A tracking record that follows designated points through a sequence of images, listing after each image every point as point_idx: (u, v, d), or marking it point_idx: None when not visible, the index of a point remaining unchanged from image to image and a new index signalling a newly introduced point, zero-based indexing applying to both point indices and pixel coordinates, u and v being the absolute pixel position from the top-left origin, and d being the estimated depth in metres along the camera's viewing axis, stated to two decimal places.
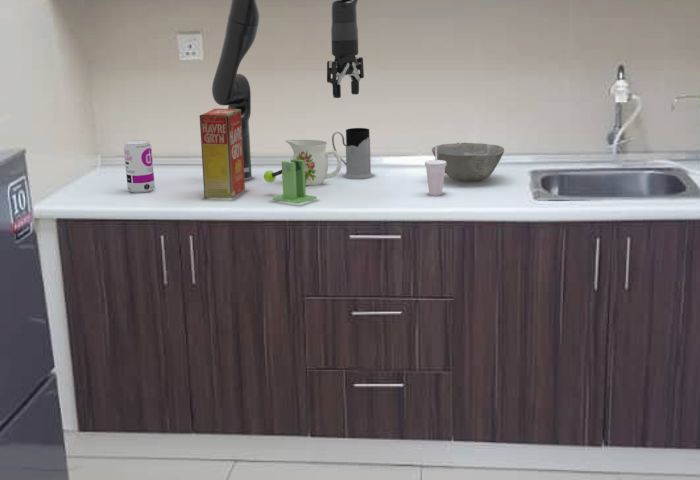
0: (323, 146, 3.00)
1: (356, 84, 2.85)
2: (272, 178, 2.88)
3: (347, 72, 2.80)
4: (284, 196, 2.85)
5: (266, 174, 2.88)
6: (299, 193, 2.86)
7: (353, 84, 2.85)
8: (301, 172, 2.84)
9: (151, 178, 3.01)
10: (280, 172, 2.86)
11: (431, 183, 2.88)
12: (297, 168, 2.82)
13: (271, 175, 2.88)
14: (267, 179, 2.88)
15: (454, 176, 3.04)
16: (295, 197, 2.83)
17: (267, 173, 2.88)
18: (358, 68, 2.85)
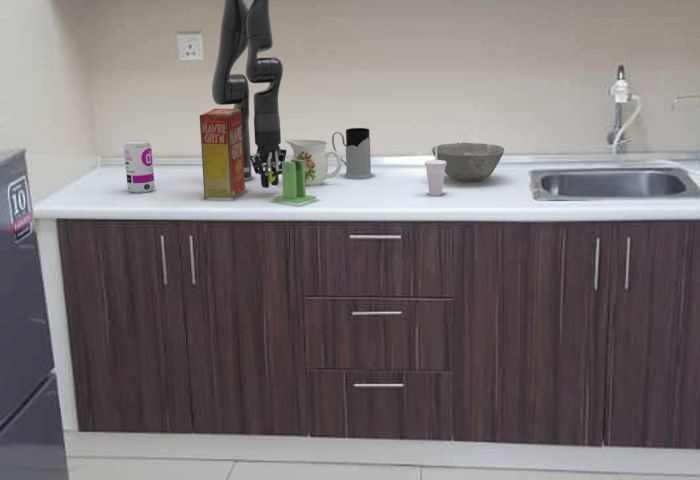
0: (323, 146, 3.00)
1: None
2: (272, 178, 2.88)
3: None
4: (284, 196, 2.85)
5: None
6: (299, 193, 2.86)
7: None
8: (301, 172, 2.84)
9: (151, 178, 3.01)
10: (280, 172, 2.86)
11: (431, 183, 2.88)
12: (297, 168, 2.82)
13: (271, 175, 2.88)
14: None
15: (454, 176, 3.04)
16: (295, 197, 2.83)
17: None
18: (279, 159, 2.91)
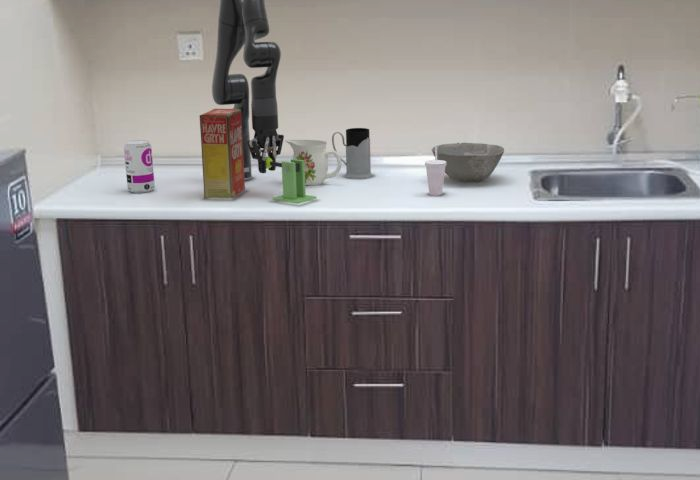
0: (323, 146, 3.00)
1: None
2: (269, 166, 2.88)
3: (267, 146, 2.86)
4: (284, 196, 2.85)
5: None
6: (299, 193, 2.86)
7: None
8: (301, 172, 2.84)
9: (151, 178, 3.01)
10: (279, 165, 2.85)
11: (431, 183, 2.88)
12: (296, 170, 2.82)
13: (269, 163, 2.87)
14: None
15: (454, 176, 3.04)
16: (295, 197, 2.83)
17: (266, 160, 2.87)
18: (277, 144, 2.90)
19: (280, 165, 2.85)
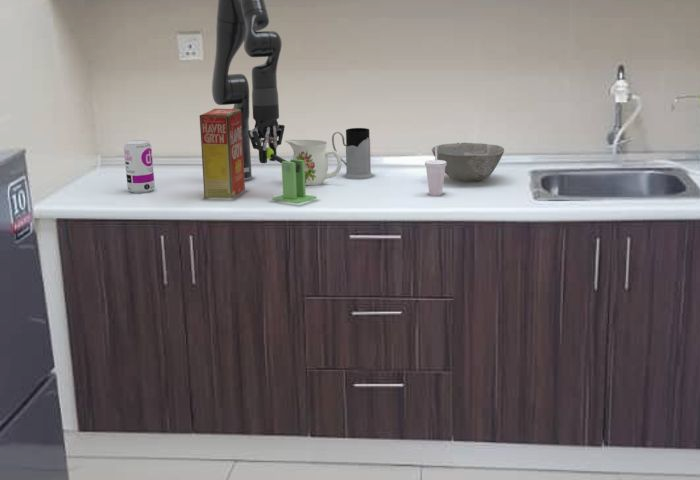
0: (323, 146, 3.00)
1: None
2: (269, 158, 2.87)
3: None
4: (284, 196, 2.85)
5: None
6: (299, 193, 2.86)
7: None
8: (301, 172, 2.84)
9: (151, 178, 3.01)
10: (279, 160, 2.85)
11: (431, 183, 2.88)
12: (296, 171, 2.83)
13: (270, 155, 2.86)
14: None
15: (454, 176, 3.04)
16: (295, 197, 2.83)
17: (267, 151, 2.86)
18: (278, 134, 2.89)
19: (280, 161, 2.85)
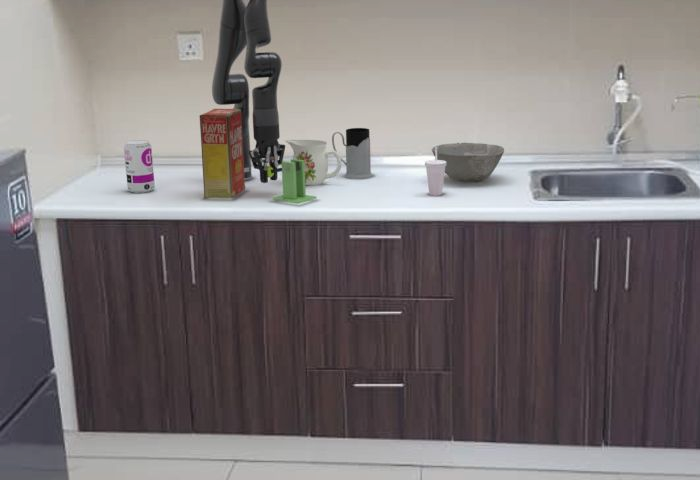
0: (323, 146, 3.00)
1: None
2: (271, 174, 2.88)
3: (269, 155, 2.87)
4: (284, 196, 2.85)
5: None
6: (299, 193, 2.86)
7: None
8: (301, 172, 2.84)
9: (151, 178, 3.01)
10: (279, 170, 2.86)
11: (431, 183, 2.88)
12: (297, 169, 2.82)
13: (270, 171, 2.88)
14: None
15: (454, 176, 3.04)
16: (295, 197, 2.83)
17: None
18: (278, 154, 2.91)
19: (281, 169, 2.85)
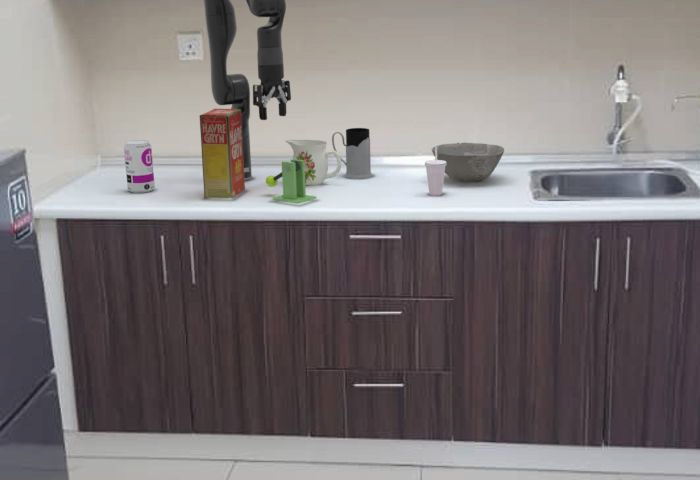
0: (323, 146, 3.00)
1: (283, 106, 2.95)
2: (274, 182, 2.88)
3: (273, 95, 2.90)
4: (284, 196, 2.85)
5: (268, 179, 2.88)
6: (299, 193, 2.86)
7: (280, 106, 2.96)
8: (301, 172, 2.84)
9: (151, 178, 3.01)
10: (281, 174, 2.86)
11: (431, 183, 2.88)
12: (297, 167, 2.82)
13: (273, 179, 2.88)
14: (269, 183, 2.88)
15: (454, 176, 3.04)
16: (295, 197, 2.83)
17: (268, 178, 2.88)
18: (285, 91, 2.96)
19: None
